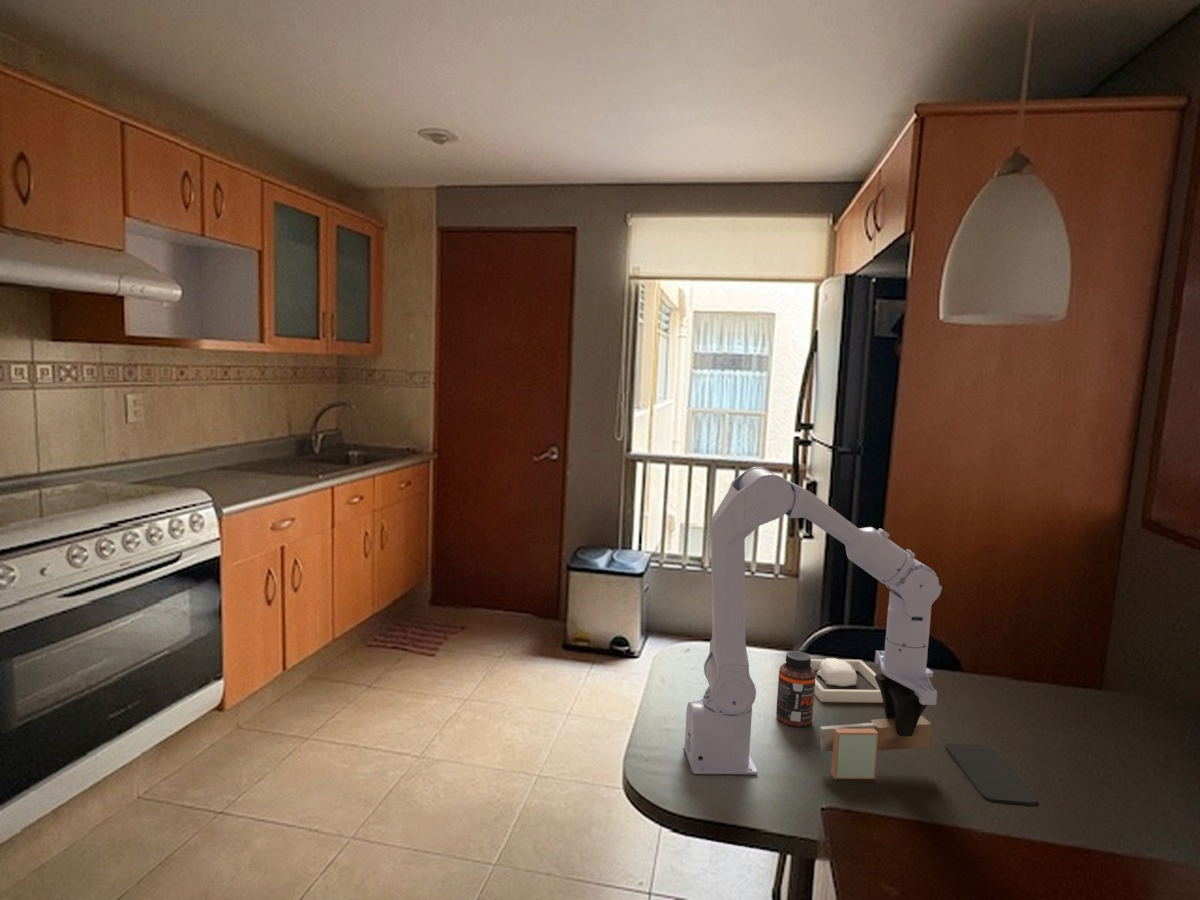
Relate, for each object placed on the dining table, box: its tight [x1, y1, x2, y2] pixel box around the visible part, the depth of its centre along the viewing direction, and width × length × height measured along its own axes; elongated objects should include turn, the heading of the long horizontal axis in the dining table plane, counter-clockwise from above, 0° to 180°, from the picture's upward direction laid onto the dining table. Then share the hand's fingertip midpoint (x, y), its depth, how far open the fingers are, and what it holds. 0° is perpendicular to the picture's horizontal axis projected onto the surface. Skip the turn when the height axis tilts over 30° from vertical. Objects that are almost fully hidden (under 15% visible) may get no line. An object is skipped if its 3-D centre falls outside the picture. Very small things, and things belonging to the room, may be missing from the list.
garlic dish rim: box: [810, 658, 883, 704], centre depth 132 cm, size 14×15×2 cm
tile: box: [830, 728, 878, 780], centre depth 101 cm, size 6×1×7 cm, turn 93°
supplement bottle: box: [776, 650, 816, 728], centre depth 117 cm, size 6×6×11 cm
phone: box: [945, 742, 1038, 806], centre depth 103 cm, size 7×1×15 cm
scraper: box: [819, 715, 932, 753], centre depth 103 cm, size 16×2×4 cm, turn 93°
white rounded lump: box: [816, 657, 858, 687], centre depth 135 cm, size 8×7×4 cm
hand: (899, 729), depth 103 cm, fingers closed on scraper, 2 cm apart
